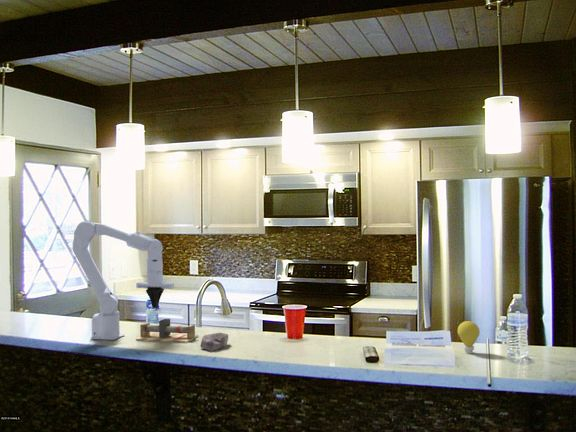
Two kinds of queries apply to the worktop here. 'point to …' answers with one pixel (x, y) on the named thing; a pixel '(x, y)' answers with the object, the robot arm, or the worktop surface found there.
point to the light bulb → (468, 335)
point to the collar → (163, 327)
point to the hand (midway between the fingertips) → (155, 307)
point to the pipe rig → (148, 328)
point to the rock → (214, 341)
